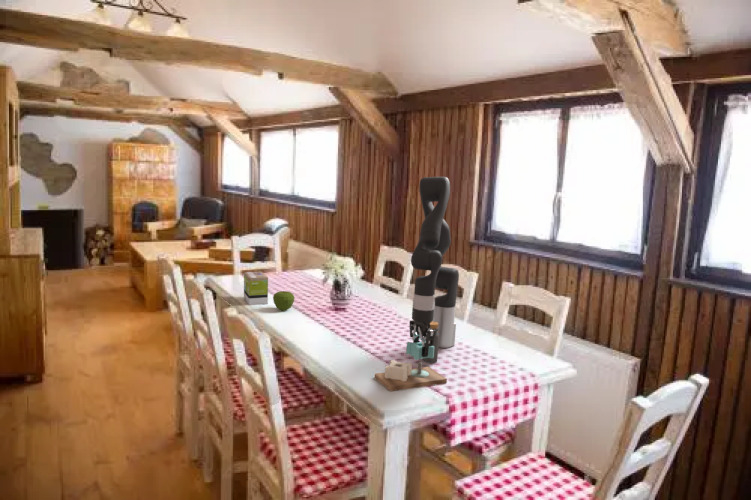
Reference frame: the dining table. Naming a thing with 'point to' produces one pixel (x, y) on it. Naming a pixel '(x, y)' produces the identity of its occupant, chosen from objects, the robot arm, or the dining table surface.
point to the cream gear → (398, 370)
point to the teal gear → (418, 350)
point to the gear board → (412, 379)
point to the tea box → (255, 288)
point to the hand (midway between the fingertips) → (420, 353)
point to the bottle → (436, 342)
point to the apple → (283, 300)
